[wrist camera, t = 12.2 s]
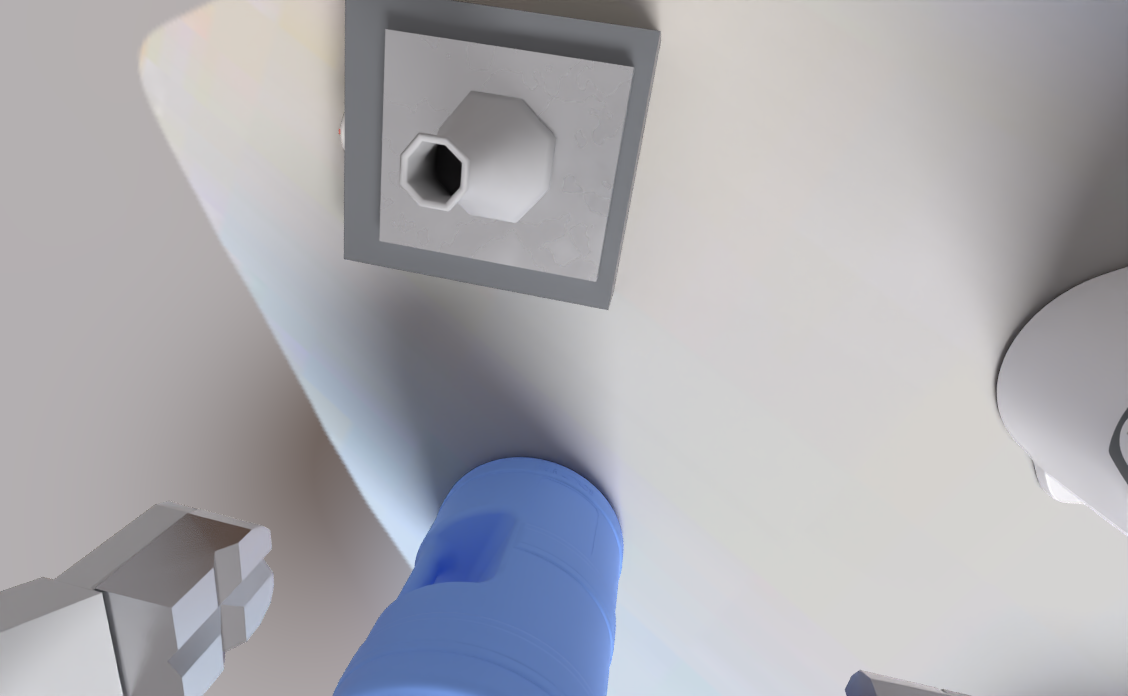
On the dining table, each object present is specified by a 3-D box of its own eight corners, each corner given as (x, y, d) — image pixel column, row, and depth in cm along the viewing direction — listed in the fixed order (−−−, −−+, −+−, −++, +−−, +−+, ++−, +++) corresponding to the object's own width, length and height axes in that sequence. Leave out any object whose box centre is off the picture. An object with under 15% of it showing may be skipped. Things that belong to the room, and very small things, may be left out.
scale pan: (634, 68, 32) (633, 67, 31) (597, 277, 37) (596, 281, 36) (393, 31, 34) (385, 29, 33) (386, 238, 38) (379, 240, 37)
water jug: (658, 507, 47) (649, 973, 21) (574, 630, 53) (487, 1108, 27) (484, 419, 47) (262, 786, 21) (419, 553, 53) (185, 964, 27)
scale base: (660, 40, 35) (660, 31, 32) (613, 293, 41) (608, 310, 38) (367, -4, 37) (334, -17, 33) (363, 245, 43) (334, 257, 39)
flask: (524, 242, 36) (474, 285, 27) (418, 185, 36) (332, 208, 26) (578, 130, 33) (544, 134, 24) (464, 66, 33) (385, 46, 24)
